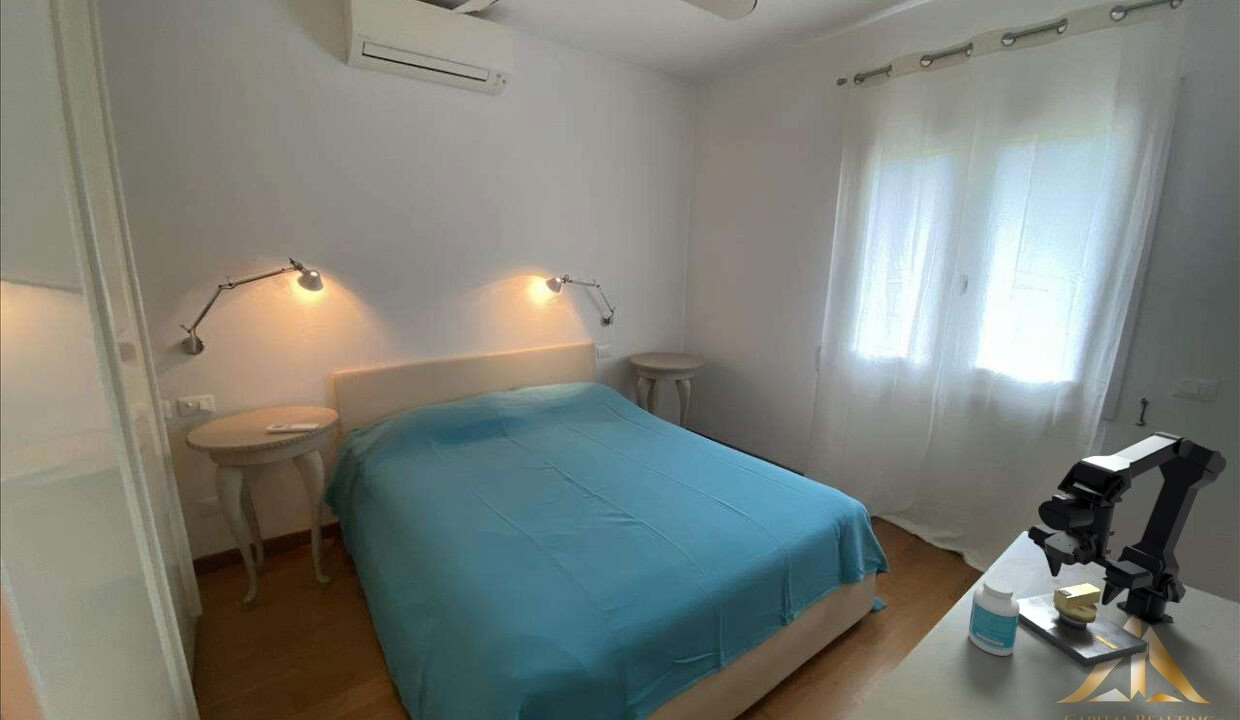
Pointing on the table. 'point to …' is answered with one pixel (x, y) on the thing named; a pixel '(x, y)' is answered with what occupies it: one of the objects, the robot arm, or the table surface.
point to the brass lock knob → (1077, 602)
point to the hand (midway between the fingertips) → (1078, 589)
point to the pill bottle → (994, 617)
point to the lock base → (1078, 633)
